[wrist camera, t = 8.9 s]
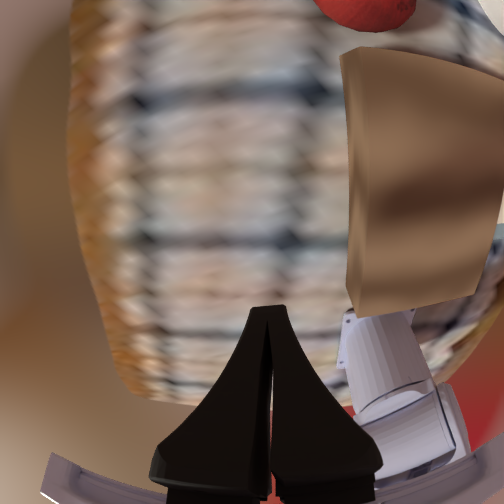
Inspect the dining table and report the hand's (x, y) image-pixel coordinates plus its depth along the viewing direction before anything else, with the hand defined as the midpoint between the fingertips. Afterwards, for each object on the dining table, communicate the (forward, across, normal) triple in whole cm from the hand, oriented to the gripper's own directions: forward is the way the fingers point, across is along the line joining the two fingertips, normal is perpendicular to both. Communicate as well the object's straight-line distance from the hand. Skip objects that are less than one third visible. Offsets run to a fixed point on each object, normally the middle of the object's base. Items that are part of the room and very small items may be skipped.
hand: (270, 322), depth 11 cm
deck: (+10, -12, -2) cm, 16 cm away
